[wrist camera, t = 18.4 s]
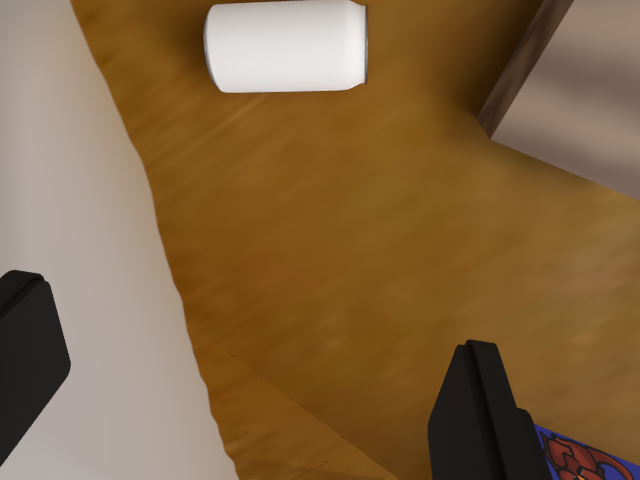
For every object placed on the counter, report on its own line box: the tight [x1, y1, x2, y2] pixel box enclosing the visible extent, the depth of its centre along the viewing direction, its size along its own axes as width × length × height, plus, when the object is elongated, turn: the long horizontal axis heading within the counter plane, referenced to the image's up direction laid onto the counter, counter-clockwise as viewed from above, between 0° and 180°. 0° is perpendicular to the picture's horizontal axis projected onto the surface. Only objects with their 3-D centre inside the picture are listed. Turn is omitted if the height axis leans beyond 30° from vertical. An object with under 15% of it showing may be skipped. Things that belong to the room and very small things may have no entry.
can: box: [203, 0, 368, 92], centre depth 35 cm, size 6×6×12 cm
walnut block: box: [477, 0, 640, 201], centre depth 35 cm, size 14×14×6 cm
